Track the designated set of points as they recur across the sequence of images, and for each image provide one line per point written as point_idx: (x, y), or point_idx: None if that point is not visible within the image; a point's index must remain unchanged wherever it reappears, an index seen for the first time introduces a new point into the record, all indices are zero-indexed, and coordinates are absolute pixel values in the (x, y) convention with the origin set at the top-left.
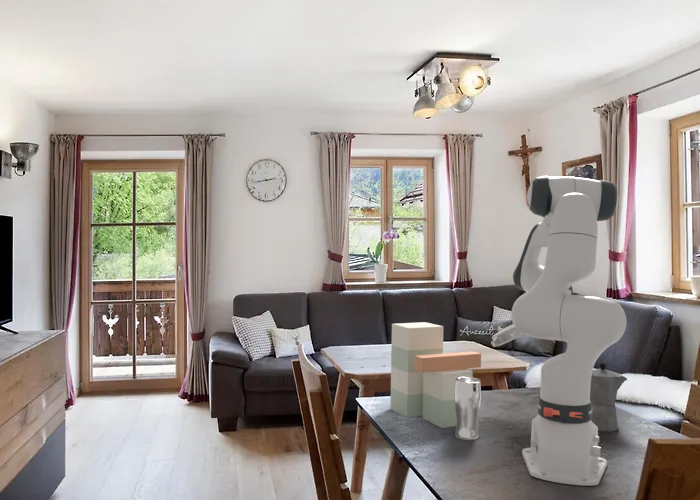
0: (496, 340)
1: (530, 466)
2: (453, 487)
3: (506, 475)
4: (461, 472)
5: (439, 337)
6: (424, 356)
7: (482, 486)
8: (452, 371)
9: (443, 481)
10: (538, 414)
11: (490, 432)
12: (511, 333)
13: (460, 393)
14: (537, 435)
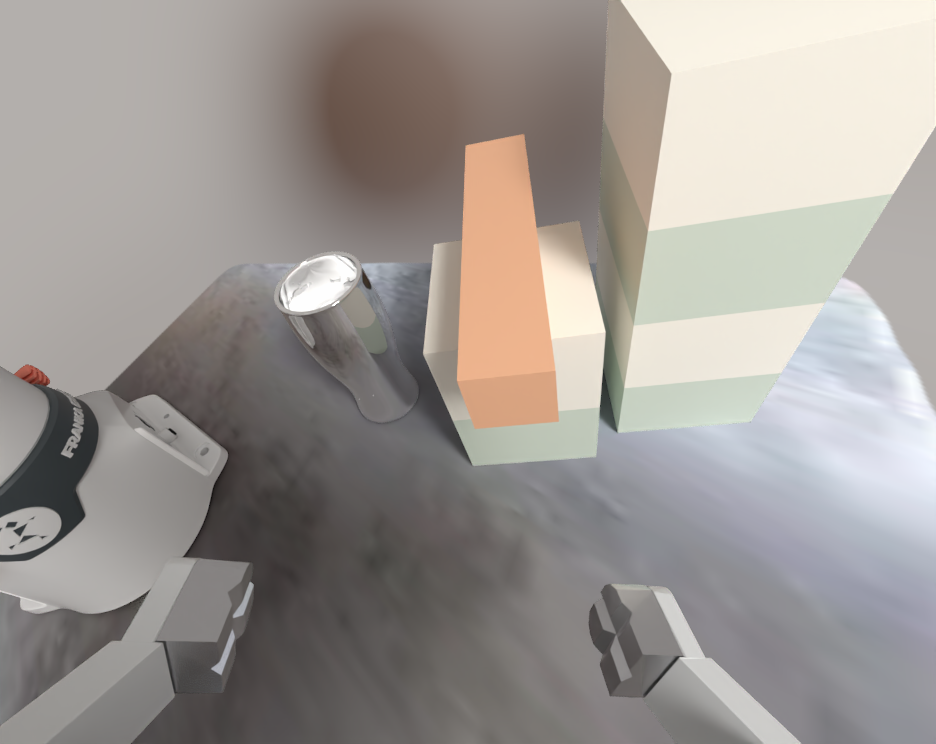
0: (624, 635)
1: (163, 406)
2: (232, 282)
3: (196, 364)
4: (257, 309)
5: (649, 147)
6: (494, 154)
7: (204, 314)
8: (450, 280)
9: (255, 277)
10: (103, 425)
11: (381, 474)
12: (223, 560)
13: (328, 285)
14: (113, 400)
